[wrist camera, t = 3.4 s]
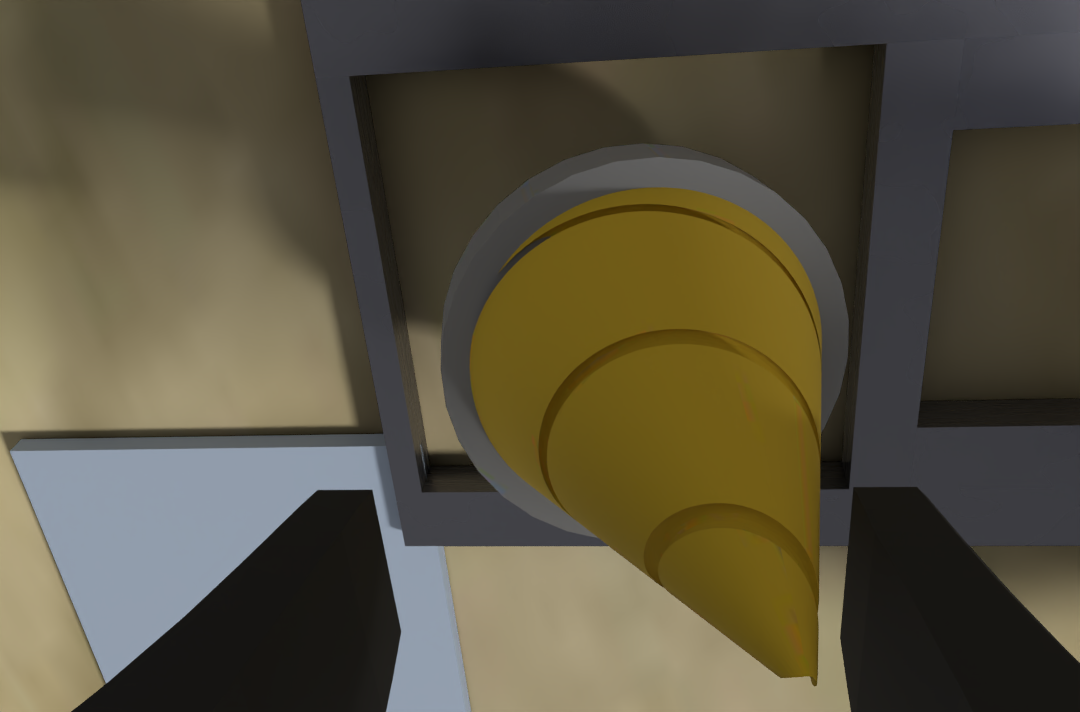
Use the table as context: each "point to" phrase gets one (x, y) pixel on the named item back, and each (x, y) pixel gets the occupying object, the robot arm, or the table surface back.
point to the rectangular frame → (883, 253)
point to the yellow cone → (659, 378)
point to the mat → (222, 538)
